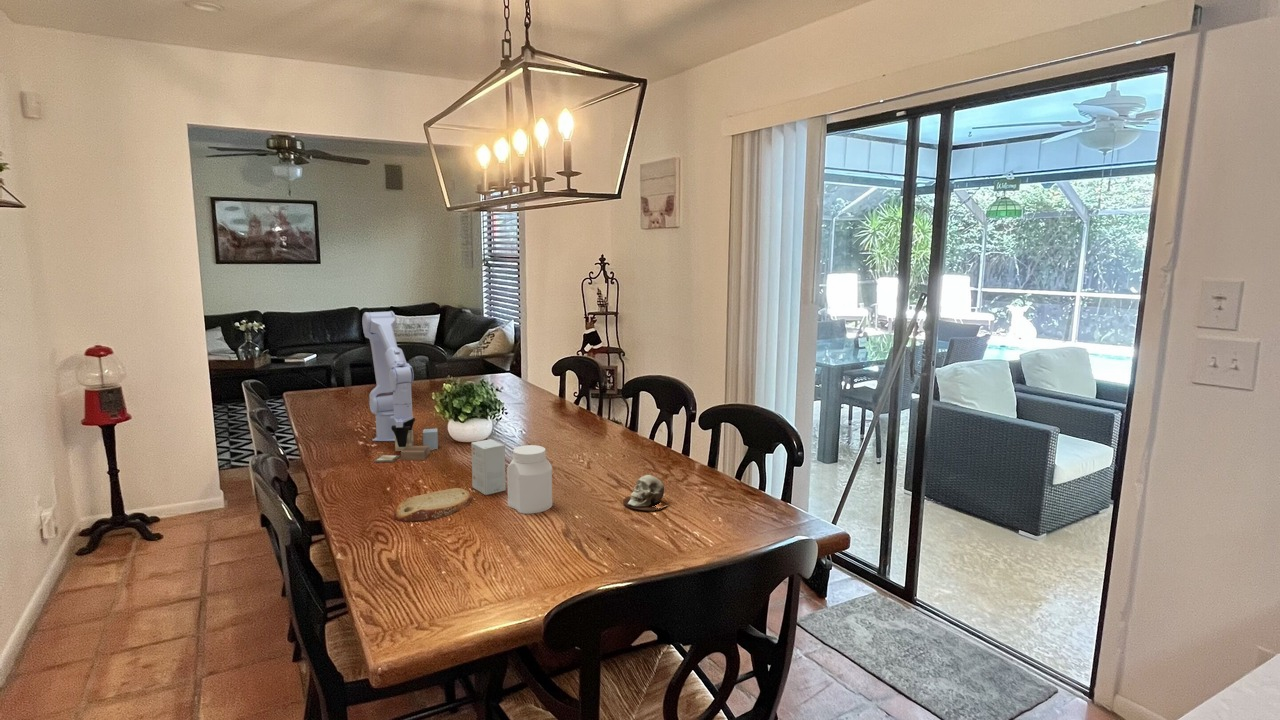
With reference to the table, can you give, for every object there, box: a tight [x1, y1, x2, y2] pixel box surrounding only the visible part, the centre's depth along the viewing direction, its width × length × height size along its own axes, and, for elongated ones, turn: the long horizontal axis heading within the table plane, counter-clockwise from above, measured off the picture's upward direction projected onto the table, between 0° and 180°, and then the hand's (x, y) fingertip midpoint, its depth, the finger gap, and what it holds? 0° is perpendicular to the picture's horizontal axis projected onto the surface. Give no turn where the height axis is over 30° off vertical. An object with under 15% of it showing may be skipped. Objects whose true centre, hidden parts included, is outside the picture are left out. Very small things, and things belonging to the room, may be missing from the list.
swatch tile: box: [373, 454, 401, 463], centre depth 212 cm, size 6×6×1 cm
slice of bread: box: [393, 487, 473, 523], centre depth 174 cm, size 18×18×4 cm
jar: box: [506, 444, 553, 515], centre depth 175 cm, size 12×10×15 cm
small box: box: [470, 438, 507, 496], centre depth 187 cm, size 8×6×13 cm
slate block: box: [422, 428, 439, 451], centre depth 225 cm, size 4×4×6 cm
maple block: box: [394, 429, 415, 452], centre depth 223 cm, size 4×4×6 cm
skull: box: [622, 474, 665, 512], centre depth 178 cm, size 12×10×10 cm
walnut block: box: [400, 445, 431, 461], centre depth 215 cm, size 7×7×3 cm
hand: (404, 443), depth 223 cm, fingers open, 7 cm apart
